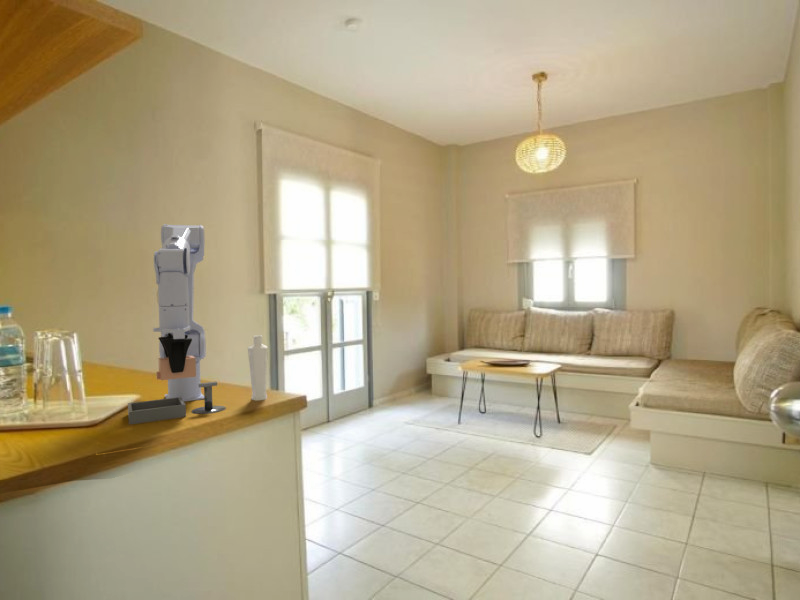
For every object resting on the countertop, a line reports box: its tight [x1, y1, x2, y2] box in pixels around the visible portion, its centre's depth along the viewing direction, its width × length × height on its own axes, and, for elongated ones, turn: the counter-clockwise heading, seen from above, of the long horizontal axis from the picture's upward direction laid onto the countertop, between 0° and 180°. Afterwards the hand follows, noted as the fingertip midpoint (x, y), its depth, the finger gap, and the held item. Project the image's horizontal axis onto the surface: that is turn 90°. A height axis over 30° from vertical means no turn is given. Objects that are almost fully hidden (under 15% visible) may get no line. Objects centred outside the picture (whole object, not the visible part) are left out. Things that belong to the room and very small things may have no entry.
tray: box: [127, 397, 187, 425], centre depth 102 cm, size 9×10×3 cm
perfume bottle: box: [247, 335, 269, 402], centre depth 116 cm, size 5×4×15 cm
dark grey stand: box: [190, 381, 227, 415], centre depth 106 cm, size 7×7×6 cm
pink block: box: [156, 355, 196, 381], centre depth 103 cm, size 7×4×4 cm, turn 121°
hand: (176, 370), depth 103 cm, fingers closed on pink block, 4 cm apart
